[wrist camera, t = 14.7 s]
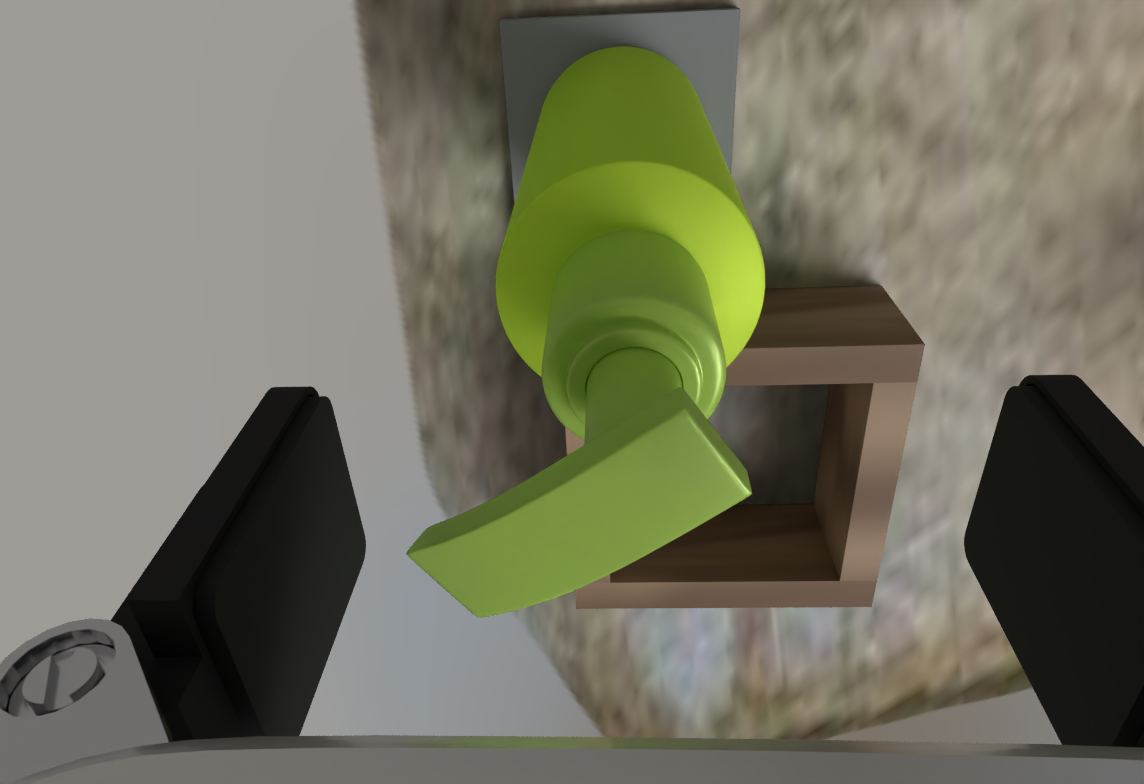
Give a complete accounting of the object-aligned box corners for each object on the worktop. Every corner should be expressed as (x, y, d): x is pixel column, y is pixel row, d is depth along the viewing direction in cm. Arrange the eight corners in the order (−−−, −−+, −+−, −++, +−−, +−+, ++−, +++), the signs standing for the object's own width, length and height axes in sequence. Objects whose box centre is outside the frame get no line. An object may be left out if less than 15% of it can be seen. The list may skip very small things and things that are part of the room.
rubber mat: (500, 18, 27) (498, 20, 27) (737, 7, 27) (740, 9, 26) (521, 266, 32) (520, 271, 31) (724, 260, 31) (725, 265, 31)
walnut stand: (567, 294, 32) (560, 352, 28) (881, 285, 32) (924, 344, 27) (579, 531, 39) (576, 608, 34) (841, 528, 38) (871, 606, 34)
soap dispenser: (482, 133, 29) (303, 495, 12) (643, 7, 26) (708, 236, 9) (579, 257, 31) (545, 705, 14) (735, 153, 29) (916, 542, 12)
